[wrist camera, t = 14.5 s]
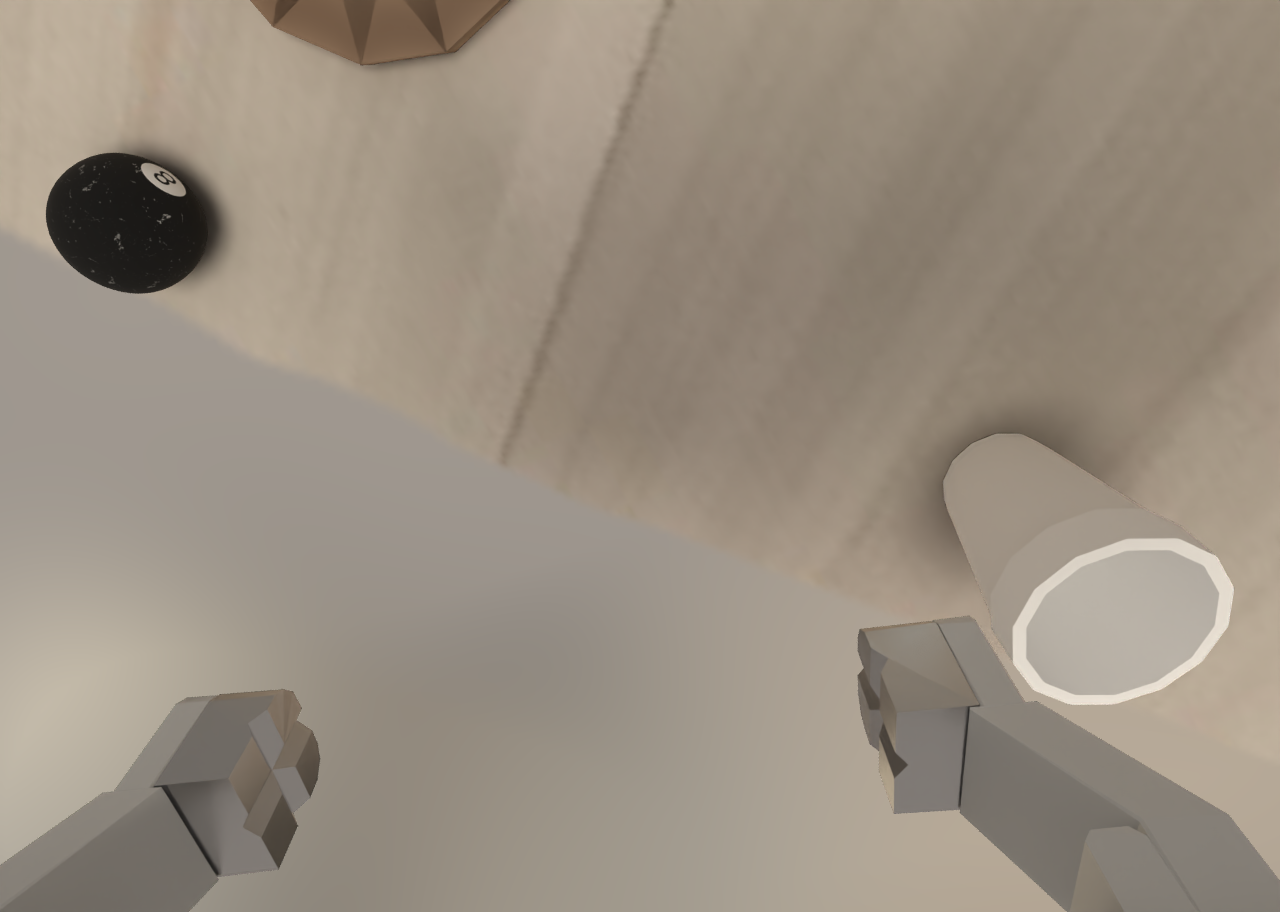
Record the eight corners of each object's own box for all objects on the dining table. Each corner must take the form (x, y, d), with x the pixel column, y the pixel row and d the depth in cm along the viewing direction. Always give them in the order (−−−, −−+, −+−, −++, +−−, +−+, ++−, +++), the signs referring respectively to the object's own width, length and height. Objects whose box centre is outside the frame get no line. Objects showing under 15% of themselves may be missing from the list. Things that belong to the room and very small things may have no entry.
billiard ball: (252, 215, 38) (190, 241, 33) (186, 297, 40) (117, 334, 35) (142, 119, 36) (57, 131, 31) (78, 210, 38) (-12, 236, 33)
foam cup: (1113, 448, 44) (1281, 586, 33) (1011, 567, 48) (1130, 728, 37) (979, 382, 42) (1108, 505, 31) (884, 511, 46) (968, 664, 35)
